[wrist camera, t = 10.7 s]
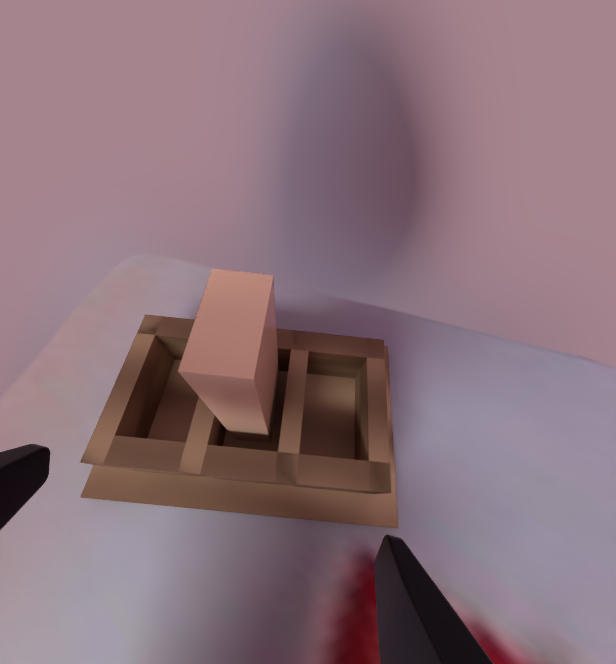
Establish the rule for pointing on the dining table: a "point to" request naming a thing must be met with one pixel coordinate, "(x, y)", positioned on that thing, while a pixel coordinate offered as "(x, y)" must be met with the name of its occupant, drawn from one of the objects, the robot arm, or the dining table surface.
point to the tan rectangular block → (236, 353)
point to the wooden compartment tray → (252, 456)
